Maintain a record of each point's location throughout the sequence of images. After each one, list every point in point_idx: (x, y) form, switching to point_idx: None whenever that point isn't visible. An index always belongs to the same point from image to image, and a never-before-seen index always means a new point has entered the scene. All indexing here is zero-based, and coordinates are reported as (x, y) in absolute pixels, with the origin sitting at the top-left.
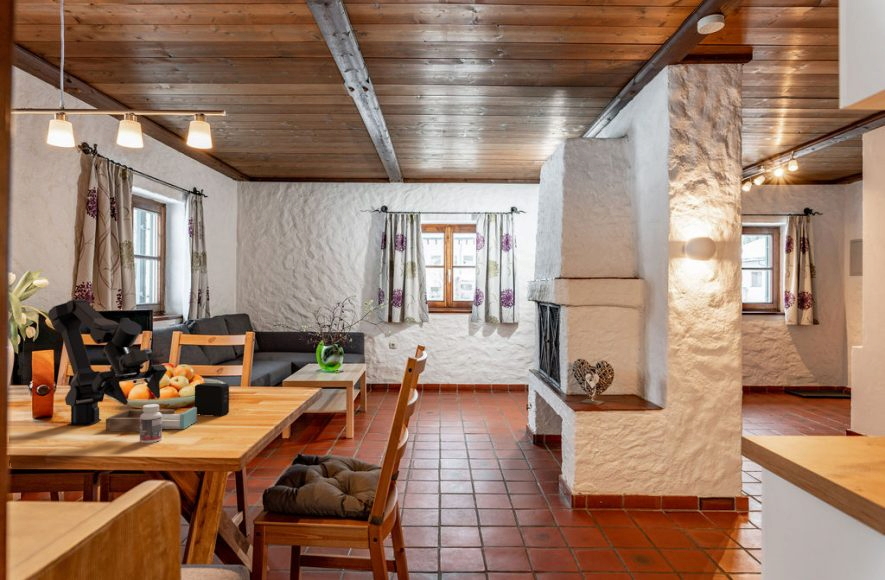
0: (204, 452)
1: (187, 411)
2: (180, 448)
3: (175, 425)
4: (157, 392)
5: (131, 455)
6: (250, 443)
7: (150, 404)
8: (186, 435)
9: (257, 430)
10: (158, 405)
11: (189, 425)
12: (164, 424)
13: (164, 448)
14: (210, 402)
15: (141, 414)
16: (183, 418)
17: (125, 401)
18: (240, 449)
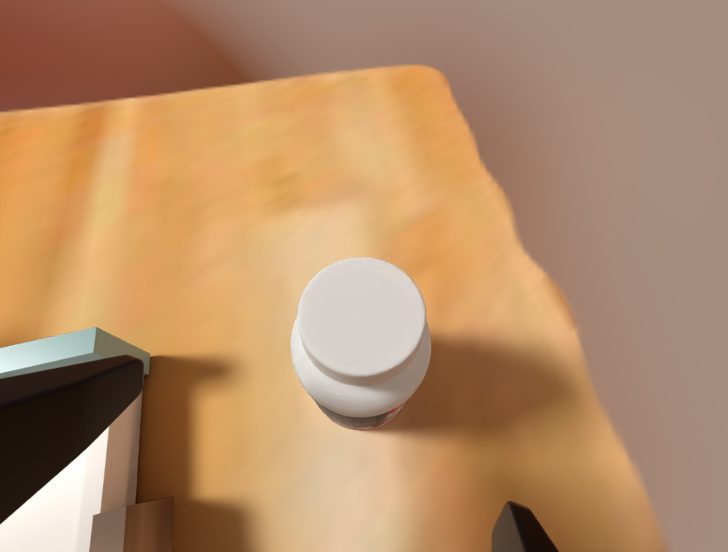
0: (429, 131)
1: (5, 358)
2: (418, 206)
3: None
4: (88, 377)
5: (556, 305)
6: (317, 81)
7: (324, 343)
8: (251, 285)
9: (171, 116)
10: (340, 261)
11: None
12: (119, 471)
13: (437, 252)
14: None
15: (399, 389)
16: (113, 340)
17: (538, 525)
18: (375, 78)
